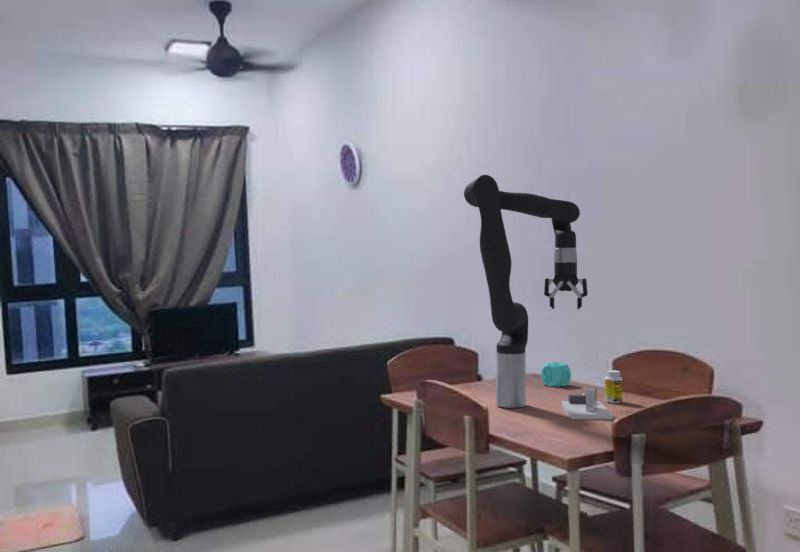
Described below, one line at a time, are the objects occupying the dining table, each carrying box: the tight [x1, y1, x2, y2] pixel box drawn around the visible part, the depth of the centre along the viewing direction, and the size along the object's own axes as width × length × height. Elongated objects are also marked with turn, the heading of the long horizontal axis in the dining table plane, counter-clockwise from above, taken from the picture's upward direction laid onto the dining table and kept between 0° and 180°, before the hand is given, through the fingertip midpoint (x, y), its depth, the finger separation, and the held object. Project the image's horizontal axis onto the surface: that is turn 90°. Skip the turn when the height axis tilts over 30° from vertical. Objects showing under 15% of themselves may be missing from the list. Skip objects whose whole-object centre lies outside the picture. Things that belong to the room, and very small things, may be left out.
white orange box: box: [585, 386, 598, 411], centre depth 227 cm, size 6×3×6 cm, turn 159°
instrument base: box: [560, 392, 614, 420], centre depth 230 cm, size 12×20×5 cm, turn 177°
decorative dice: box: [540, 362, 572, 388], centre depth 278 cm, size 8×8×8 cm
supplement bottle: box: [604, 369, 623, 404], centre depth 245 cm, size 6×6×10 cm
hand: (565, 308), depth 254 cm, fingers open, 8 cm apart
